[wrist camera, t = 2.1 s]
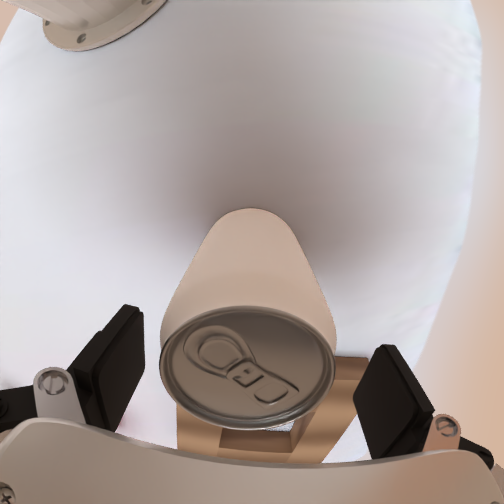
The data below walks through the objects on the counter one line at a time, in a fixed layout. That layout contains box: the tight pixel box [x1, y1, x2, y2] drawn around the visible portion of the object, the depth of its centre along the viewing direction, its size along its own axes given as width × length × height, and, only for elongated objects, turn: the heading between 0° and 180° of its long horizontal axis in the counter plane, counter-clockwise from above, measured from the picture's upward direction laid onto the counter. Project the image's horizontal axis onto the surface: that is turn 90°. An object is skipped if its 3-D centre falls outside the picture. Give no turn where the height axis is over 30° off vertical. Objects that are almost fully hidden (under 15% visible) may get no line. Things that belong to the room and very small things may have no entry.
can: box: [159, 208, 336, 430], centre depth 14 cm, size 6×6×12 cm
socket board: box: [177, 356, 369, 464], centre depth 23 cm, size 16×16×3 cm
